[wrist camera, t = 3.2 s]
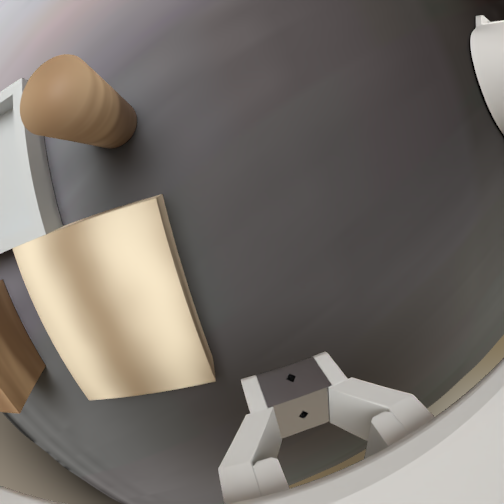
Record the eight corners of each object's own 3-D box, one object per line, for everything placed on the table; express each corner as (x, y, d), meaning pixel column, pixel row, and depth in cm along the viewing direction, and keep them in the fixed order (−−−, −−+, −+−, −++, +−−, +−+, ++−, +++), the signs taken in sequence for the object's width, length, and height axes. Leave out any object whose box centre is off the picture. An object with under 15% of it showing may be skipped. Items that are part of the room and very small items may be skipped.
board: (163, 193, 16) (155, 198, 13) (212, 354, 20) (215, 381, 17) (34, 236, 15) (12, 248, 12) (97, 375, 19) (89, 400, 16)
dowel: (132, 94, 14) (87, 41, 6) (141, 139, 14) (94, 115, 7) (87, 110, 13) (18, 77, 6) (95, 155, 14) (23, 148, 7)
